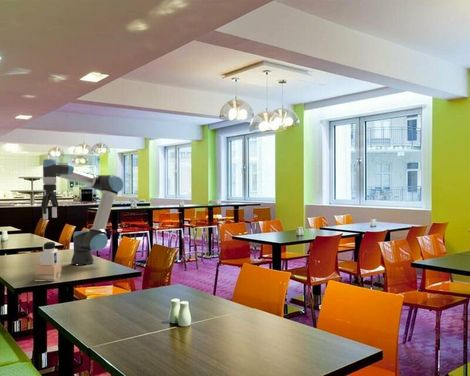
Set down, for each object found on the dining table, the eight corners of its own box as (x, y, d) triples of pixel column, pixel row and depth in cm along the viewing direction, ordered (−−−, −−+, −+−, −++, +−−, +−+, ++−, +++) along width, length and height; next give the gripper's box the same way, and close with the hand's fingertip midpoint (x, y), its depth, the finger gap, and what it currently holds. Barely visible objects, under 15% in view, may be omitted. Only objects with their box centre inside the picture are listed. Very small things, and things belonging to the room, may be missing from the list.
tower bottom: (42, 277, 265) (42, 270, 265) (61, 277, 265) (60, 270, 265) (34, 282, 254) (34, 274, 254) (53, 281, 254) (53, 274, 254)
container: (59, 262, 263) (58, 241, 263) (53, 265, 256) (52, 243, 255) (46, 262, 264) (45, 241, 263) (40, 265, 256) (39, 243, 255)
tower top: (42, 270, 265) (42, 263, 265) (61, 270, 265) (61, 262, 265) (34, 274, 254) (34, 266, 254) (54, 274, 254) (54, 266, 254)
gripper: (51, 184, 286) (52, 216, 286) (34, 184, 261) (34, 220, 261) (63, 184, 286) (63, 216, 286) (47, 184, 261) (47, 220, 261)
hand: (50, 218), depth 274 cm, fingers open, 13 cm apart
